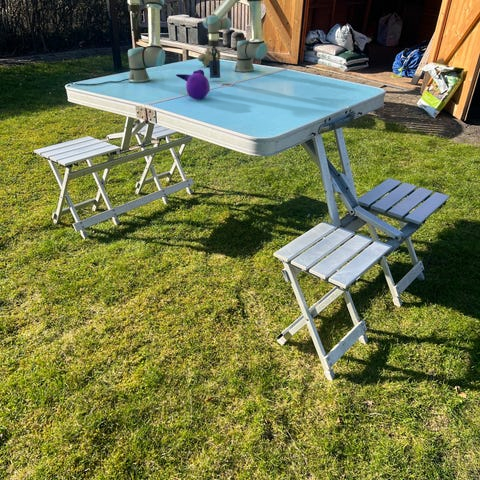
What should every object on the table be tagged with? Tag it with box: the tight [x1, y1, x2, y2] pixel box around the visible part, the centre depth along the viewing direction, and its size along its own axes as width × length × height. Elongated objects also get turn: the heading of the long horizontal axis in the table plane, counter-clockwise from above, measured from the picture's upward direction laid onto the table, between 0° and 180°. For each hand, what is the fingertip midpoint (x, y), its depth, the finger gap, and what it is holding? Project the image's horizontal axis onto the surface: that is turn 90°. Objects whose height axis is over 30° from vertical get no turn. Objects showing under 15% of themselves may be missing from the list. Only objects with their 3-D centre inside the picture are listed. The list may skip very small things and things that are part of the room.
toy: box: [175, 69, 211, 100], centre depth 285 cm, size 16×18×27 cm
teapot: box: [197, 47, 221, 68], centre depth 386 cm, size 21×12×15 cm, turn 120°
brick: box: [209, 59, 221, 79], centre depth 328 cm, size 8×5×12 cm, turn 93°
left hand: (138, 40), depth 293 cm, fingers open, 13 cm apart
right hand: (215, 74), depth 330 cm, fingers closed on brick, 5 cm apart
